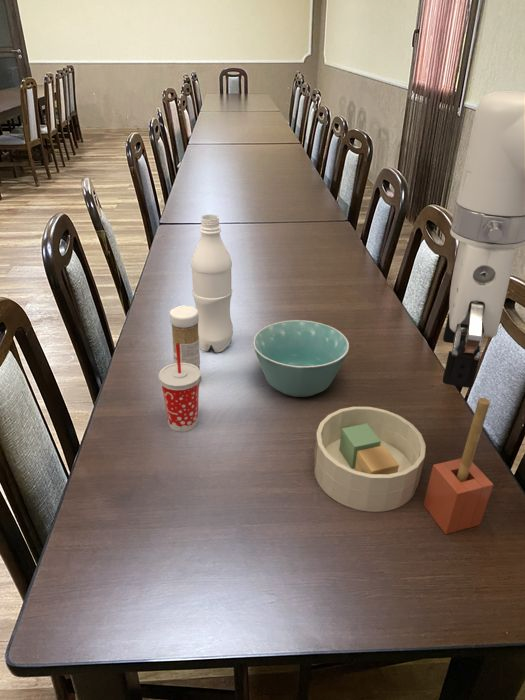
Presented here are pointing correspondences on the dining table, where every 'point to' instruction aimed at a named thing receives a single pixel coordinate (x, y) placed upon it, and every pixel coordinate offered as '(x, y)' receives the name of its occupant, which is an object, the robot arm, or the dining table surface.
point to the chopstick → (473, 439)
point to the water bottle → (212, 287)
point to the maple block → (376, 461)
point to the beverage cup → (181, 393)
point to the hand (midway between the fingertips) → (456, 362)
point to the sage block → (357, 442)
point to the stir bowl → (365, 487)
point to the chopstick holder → (457, 496)
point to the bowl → (300, 356)
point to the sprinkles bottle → (186, 334)
